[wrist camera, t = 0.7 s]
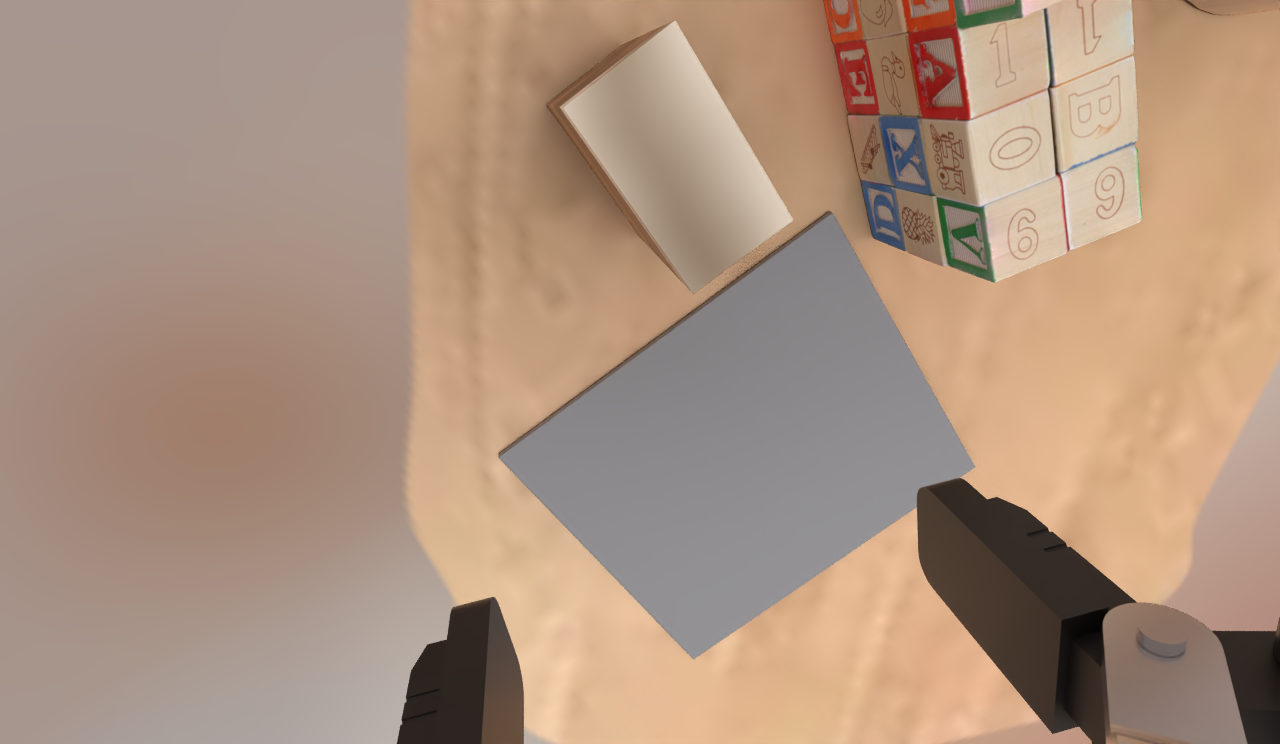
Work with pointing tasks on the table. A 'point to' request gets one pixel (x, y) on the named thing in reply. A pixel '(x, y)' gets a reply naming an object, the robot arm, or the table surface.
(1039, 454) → the table surface
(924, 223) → the stack of blocks
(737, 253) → the walnut block
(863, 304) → the mat
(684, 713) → the table surface
